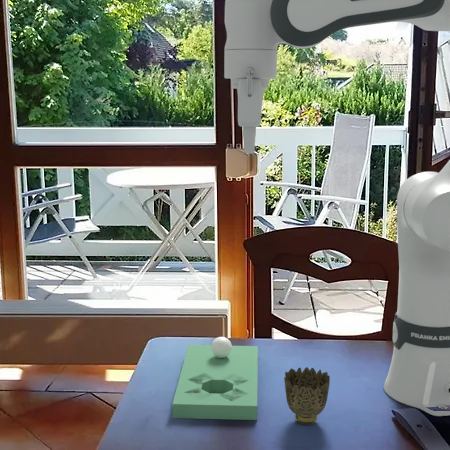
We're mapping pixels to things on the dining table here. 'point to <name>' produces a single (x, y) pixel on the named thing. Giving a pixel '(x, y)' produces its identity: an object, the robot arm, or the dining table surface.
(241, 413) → the putting mat
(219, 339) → the ball
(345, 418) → the dining table surface
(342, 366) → the dining table surface
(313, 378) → the cup
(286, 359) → the dining table surface
